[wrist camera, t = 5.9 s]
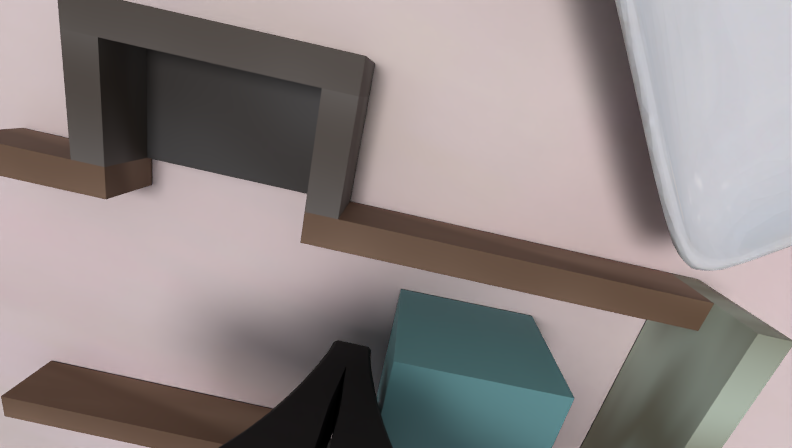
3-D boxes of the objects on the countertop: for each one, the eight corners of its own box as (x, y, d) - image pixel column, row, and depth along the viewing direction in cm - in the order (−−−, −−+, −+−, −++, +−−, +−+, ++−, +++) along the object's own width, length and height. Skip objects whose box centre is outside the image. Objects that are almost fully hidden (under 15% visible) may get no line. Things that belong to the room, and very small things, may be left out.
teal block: (494, 416, 15) (518, 520, 12) (377, 393, 15) (363, 488, 12) (531, 316, 14) (574, 398, 10) (400, 289, 14) (393, 361, 10)
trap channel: (542, 562, 18) (570, 665, 15) (62, 459, 18) (-19, 541, 15) (768, 153, 11) (910, 175, 8) (4, -22, 11) (-172, -73, 8)
